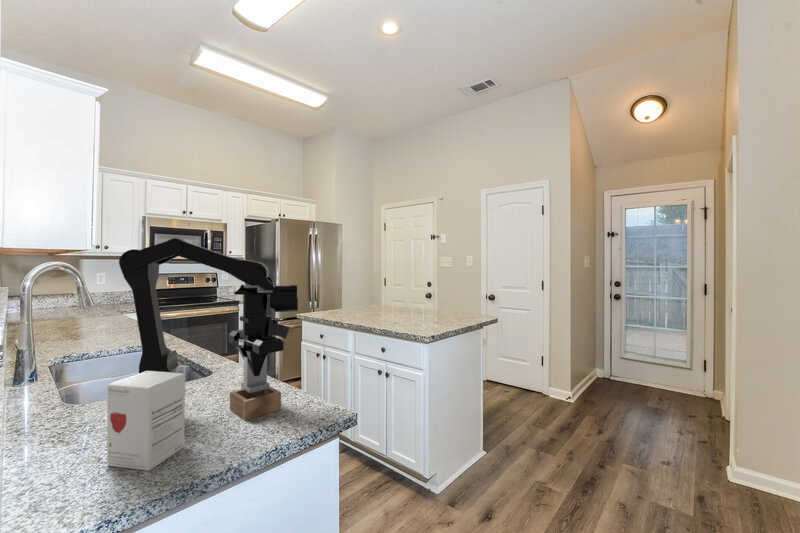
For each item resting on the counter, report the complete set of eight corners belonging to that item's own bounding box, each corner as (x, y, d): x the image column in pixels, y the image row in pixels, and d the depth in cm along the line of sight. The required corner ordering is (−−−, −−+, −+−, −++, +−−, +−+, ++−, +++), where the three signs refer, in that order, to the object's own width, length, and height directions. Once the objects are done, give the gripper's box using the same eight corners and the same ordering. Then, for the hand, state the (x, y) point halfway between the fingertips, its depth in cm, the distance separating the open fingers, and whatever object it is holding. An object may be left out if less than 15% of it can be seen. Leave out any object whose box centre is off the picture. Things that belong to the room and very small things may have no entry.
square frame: (244, 421, 86) (244, 401, 86) (229, 409, 92) (229, 391, 92) (280, 410, 92) (280, 392, 92) (264, 400, 98) (264, 383, 98)
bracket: (249, 393, 89) (250, 359, 88) (241, 388, 92) (241, 355, 92) (269, 388, 92) (269, 355, 92) (260, 383, 96) (260, 351, 96)
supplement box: (104, 466, 66) (104, 384, 66) (146, 442, 75) (146, 369, 75) (148, 472, 65) (148, 387, 65) (186, 447, 74) (186, 372, 74)
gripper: (304, 313, 91) (303, 376, 91) (268, 306, 104) (268, 361, 104) (260, 318, 83) (259, 387, 83) (228, 309, 96) (227, 369, 96)
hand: (254, 374), depth 92 cm, fingers closed on bracket
